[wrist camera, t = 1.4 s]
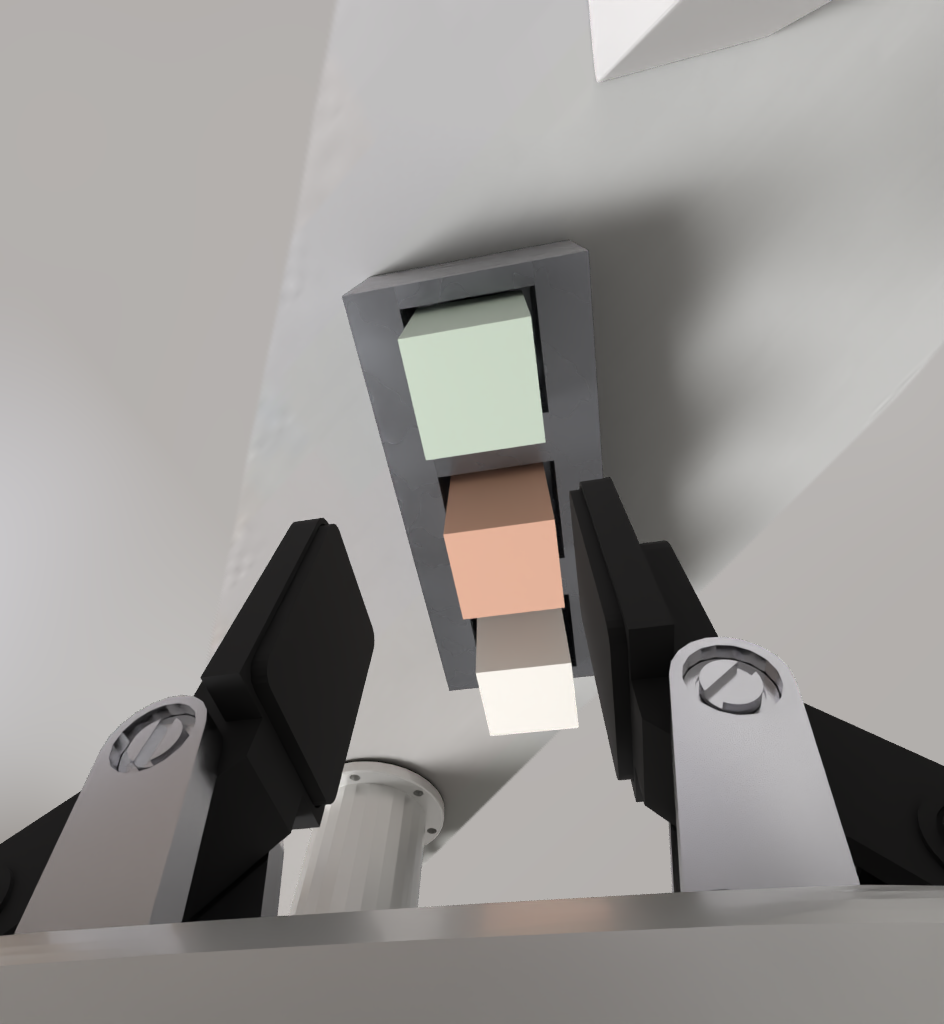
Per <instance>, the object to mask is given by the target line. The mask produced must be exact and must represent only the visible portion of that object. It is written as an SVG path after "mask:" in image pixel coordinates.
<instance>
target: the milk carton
mask: <svg viewBox="0 0 944 1024" xmlns="http://www.w3.org/2000/svg"><path fill="white" fill-rule="evenodd" d="M830 1H832V0H588V2H589V13H590V24H591V35H592V47H593V57H594V68H595V76H596V80H597V82H603V81H607V80H611V79H614V78H618V77H622V76H625V75H629V74H633V73H636V72H640V71H644V70H647V69H651V68H654V67H658V66H662V65H665V64H669V63H673V62H676V61H680V60H684V59H687V58H691V57H695V56H698V55H702V54H706V53H709V52H713V51H716V50H720V49H724V48H727V47H731V46H735V45H738V44H742V43H746V42H749V41H753V40H757V39H760V38H764V37H767V36H770V35H772V34H773V33H775V32H777V31H779V30H780V29H782V28H784V27H786V26H787V25H789V24H791V23H793V22H795V21H796V20H798V19H800V18H802V17H803V16H805V15H807V14H809V13H811V12H812V11H814V10H816V9H818V8H819V7H821V6H823V5H825V4H827V3H828V2H830Z"/></svg>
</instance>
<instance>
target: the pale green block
mask: <svg viewBox="0 0 944 1024" xmlns="http://www.w3.org/2000/svg"><path fill="white" fill-rule="evenodd" d="M398 344H399V348H400V352H401V356H402V361H403V365H404V369H405V373H406V378H407V382H408V386H409V391H410V395H411V399H412V403H413V408H414V412H415V416H416V420H417V425H418V429H419V433H420V437H421V442H422V446H423V450H424V455H425V459H426V460H432V459H439V458H445V457H452V456H459V455H465V454H472V453H479V452H485V451H492V450H499V449H505V448H512V447H519V446H525V445H532V444H539V443H545V442H546V441H545V433H544V424H543V416H542V407H541V398H540V390H539V381H538V372H537V364H536V355H535V347H534V338H533V329H532V321H531V315H530V312H529V309H528V307H527V304H526V301H525V298H524V295H523V292H522V290H517V291H511V292H506V293H500V294H495V295H489V296H483V297H478V298H472V299H467V300H461V301H456V302H450V303H445V304H439V305H433V306H428V307H422V308H417V309H416V311H415V312H414V314H413V316H412V317H411V319H410V320H409V322H408V324H407V325H406V327H405V328H404V330H403V332H402V333H401V335H400V336H399V338H398Z"/></svg>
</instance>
